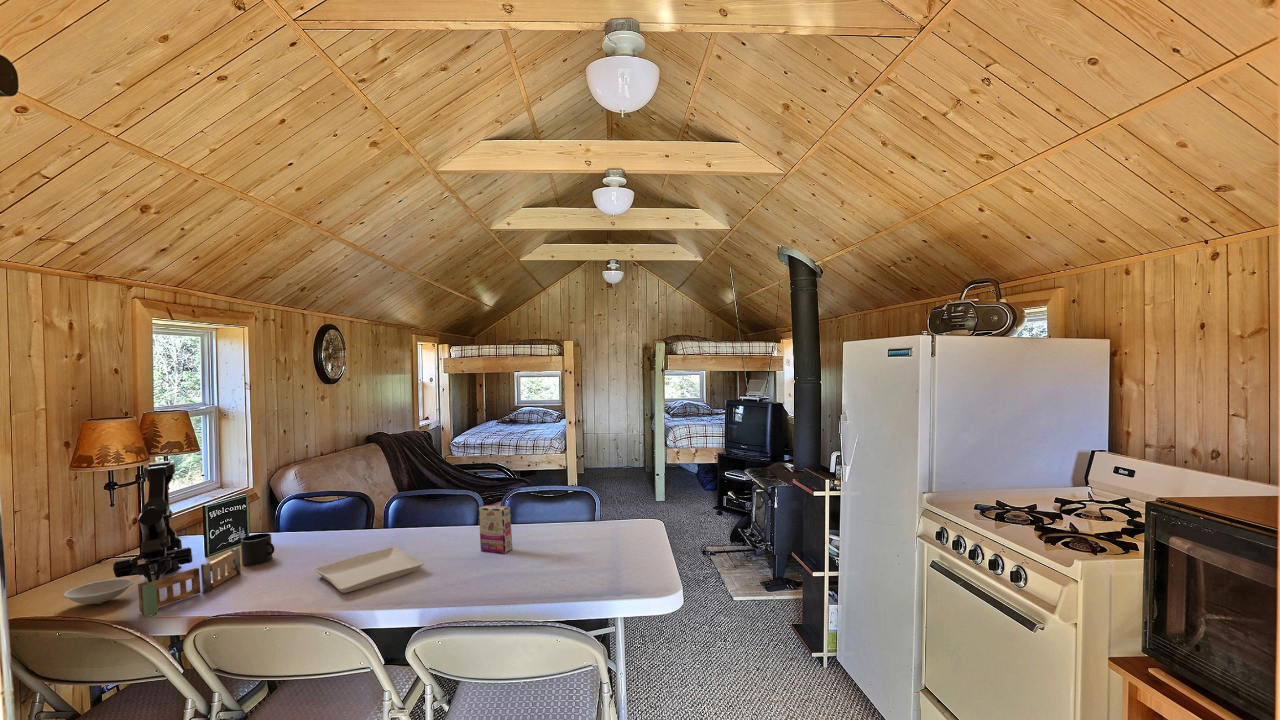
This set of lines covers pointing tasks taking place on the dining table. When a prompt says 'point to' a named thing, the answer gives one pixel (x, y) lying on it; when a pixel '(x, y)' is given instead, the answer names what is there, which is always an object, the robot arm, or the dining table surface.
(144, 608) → the post
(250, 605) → the dining table surface
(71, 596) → the dish
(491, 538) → the candy bar box
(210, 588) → the wooden fence panel
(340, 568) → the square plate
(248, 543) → the mug
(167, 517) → the robot arm
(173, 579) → the gate
